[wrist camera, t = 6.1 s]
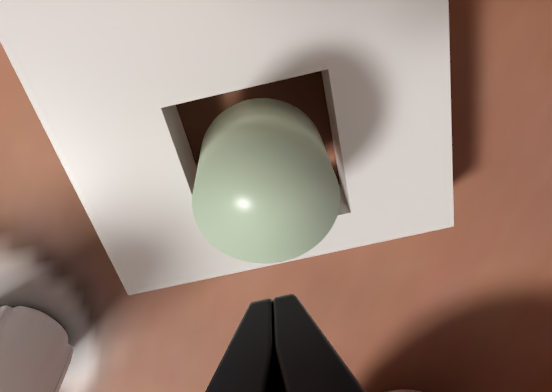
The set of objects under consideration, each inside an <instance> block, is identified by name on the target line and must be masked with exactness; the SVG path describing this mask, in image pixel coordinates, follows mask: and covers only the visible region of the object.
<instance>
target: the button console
mask: <svg viewBox="0 0 552 392" xmlns="http://www.w3.org/2000/svg"><path fill="white" fill-rule="evenodd" d="M0 42H1V44H2V46H3V48H4V50H5V52H6V54H7V56H8V58H9V60H10V62H11V64H12V65H13V67H14V69H15V71H16V73H17V75H18V77H19V79H20V81H21V83H22V85H23V87H24V89H25V91H26V93H27V95H28V97H29V99H30V101H31V103H32V105H33V107H34V109H35V111H36V113H37V115H38V117H39V119H40V121H41V123H42V125H43V127H44V129H45V131H46V133H47V135H48V137H49V139H50V141H51V143H52V145H53V147H54V149H55V151H56V153H57V155H58V157H59V159H60V161H61V163H62V165H63V167H64V169H65V171H66V173H67V175H68V177H69V179H70V181H71V183H72V185H73V187H74V189H75V191H76V193H77V195H78V197H79V199H80V201H81V203H82V205H83V206H84V208H85V210H86V212H87V214H88V216H89V218H90V220H91V222H92V224H93V226H94V228H95V230H96V232H97V234H98V236H99V238H100V240H101V242H102V244H103V246H104V248H105V250H106V252H107V254H108V256H109V258H110V260H111V262H112V264H113V266H114V268H115V270H116V272H117V274H118V276H119V278H120V280H121V282H122V284H123V286H124V288H125V290H126V292H127V294H128V295H133V294H138V293H143V292H147V291H152V290H157V289H161V288H166V287H171V286H176V285H180V284H185V283H190V282H194V281H199V280H204V279H209V278H213V277H218V276H223V275H227V274H232V273H237V272H241V271H246V270H251V269H256V268H260V267H265V266H270V265H274V264H279V263H284V262H289V261H293V260H298V259H303V258H307V257H312V256H317V255H322V254H326V253H331V252H336V251H340V250H345V249H350V248H355V247H359V246H364V245H369V244H373V243H378V242H383V241H388V240H392V239H397V238H402V237H406V236H411V235H416V234H421V233H425V232H430V231H435V230H439V229H444V228H449V227H453V226H454V209H453V167H452V125H451V84H450V42H449V0H0ZM318 71H321V72H322V78H323V84H324V90H325V96H326V102H327V108H328V114H329V120H330V126H331V132H332V138H333V144H334V150H335V156H336V162H337V169H338V175H339V181H340V185H339V188H340V207H339V212H338V215H337V218H336V221H335V223H334V225H333V226H332V228H331V230H330V231H329V233H328V234H327V235H326V236H325V238H324V239H323V240H322V241H321V242H320V243H319V244H317V245H316V246H315V247H314V248H312V249H311V250H309V251H308V252H306V253H304V254H302V255H300V256H298V257H296V258H293V259H290V260H287V261H283V262H277V263H266V264H262V263H251V262H246V261H242V260H238V259H236V258H233V257H231V256H228V255H227V254H225V253H223V252H221V251H220V250H218V249H217V248H216V247H214V246H213V245H212V244H211V243H210V242H209V241H208V240H207V239H206V238H205V236H204V235H203V234H202V232H201V231H200V229H199V227H198V225H197V223H196V221H195V218H194V214H193V208H192V194H193V188H194V183H195V178H196V173H197V166H196V163H195V160H194V157H193V154H192V151H191V148H190V145H189V142H188V139H187V137H186V134H185V131H184V128H183V125H182V122H181V119H180V116H179V113H178V110H177V107H176V104H181V103H185V102H189V101H193V100H198V99H202V98H206V97H211V96H215V95H219V94H224V93H228V92H232V91H236V90H241V89H245V88H249V87H254V86H258V85H262V84H267V83H271V82H275V81H279V80H284V79H288V78H292V77H297V76H301V75H305V74H309V73H314V72H318Z"/></svg>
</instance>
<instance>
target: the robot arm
mask: <svg viewBox="0 0 552 392" xmlns="http://www.w3.org/2000/svg"><path fill="white" fill-rule="evenodd" d="M205 392H365V390H364V389H363V388H362V386H361V385H360V384H359V382H358V381H357V379H356V378H355V377H354V375H353V374H352V373H351V371H350V370H349V368H348V367H347V366H346V364H345V363H344V362H343V360H342V359H341V357H340V356H339V355H338V353H337V352H336V351H335V349H334V348H333V346H332V345H331V344H330V342H329V341H328V340H327V338H326V337H325V336H324V334H323V333H322V331H321V330H320V329H319V327H318V326H317V325H316V323H315V322H314V320H313V319H312V318H311V316H310V315H309V314H308V312H307V311H306V309H305V308H304V307H303V305H302V304H301V303H300V301H299V300H298V298H297V297H296V296H295V295H293V294H289V295H284V296H279V297H275V298H274V300H273V301H272V300H271V299H265V300H260V301H255V302H252V303H251V304H250V305H249V307H248V309H247V311H246V313H245V315H244V317H243V319H242V321H241V323H240V325H239V327H238V329H237V331H236V333H235V335H234V337H233V338H232V340H231V342H230V344H229V346H228V348H227V350H226V352H225V354H224V356H223V358H222V360H221V362H220V364H219V366H218V368H217V370H216V372H215V374H214V376H213V378H212V380H211V382H210V384H209V386H208V387H207V389H206V391H205Z"/></svg>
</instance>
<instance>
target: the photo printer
mask: <svg viewBox="0 0 552 392" xmlns="http://www.w3.org/2000/svg"><path fill="white" fill-rule="evenodd" d="M72 353H73V347H72V346H71V345H70V344H68V335H67V333H66V331H65V330H64V328H63V327H62V326H61V325H60V324H59V323H58V322H57V321H55V320H54V319H53V318H51V317H50V316H48V315H46V314H45V313H42V312H40V311H38V310H35V309H32V308H29V307H24V306H17V307H14V308H11V307H9V306H7V305H6V306H2V307H0V392H59V389H60V387H61V384H62V382H63V379H64V377H65V374H66V372H67V369H68V367H69V364H70V361H71V358H72Z"/></svg>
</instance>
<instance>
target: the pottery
mask: <svg viewBox="0 0 552 392" xmlns="http://www.w3.org/2000/svg"><path fill="white" fill-rule="evenodd" d="M386 392H421V391H418V390H409V389H407V390H406V389H401V390H391V391H386Z"/></svg>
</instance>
